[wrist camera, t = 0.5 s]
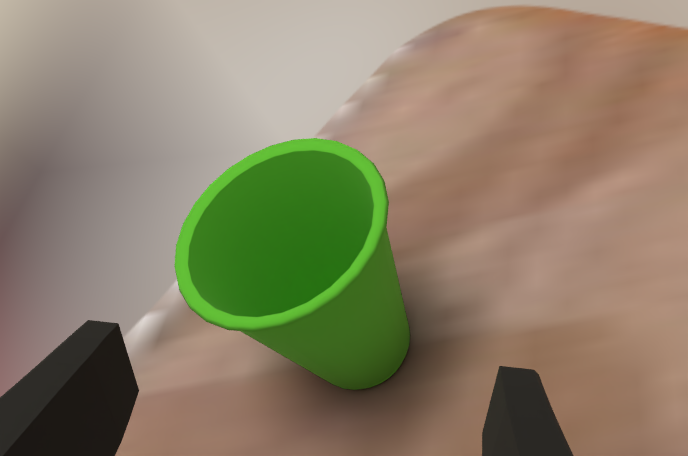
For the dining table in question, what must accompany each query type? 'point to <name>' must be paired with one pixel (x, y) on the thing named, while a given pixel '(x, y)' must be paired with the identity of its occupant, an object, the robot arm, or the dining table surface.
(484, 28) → the dining table surface
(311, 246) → the cup
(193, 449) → the dining table surface
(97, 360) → the robot arm
